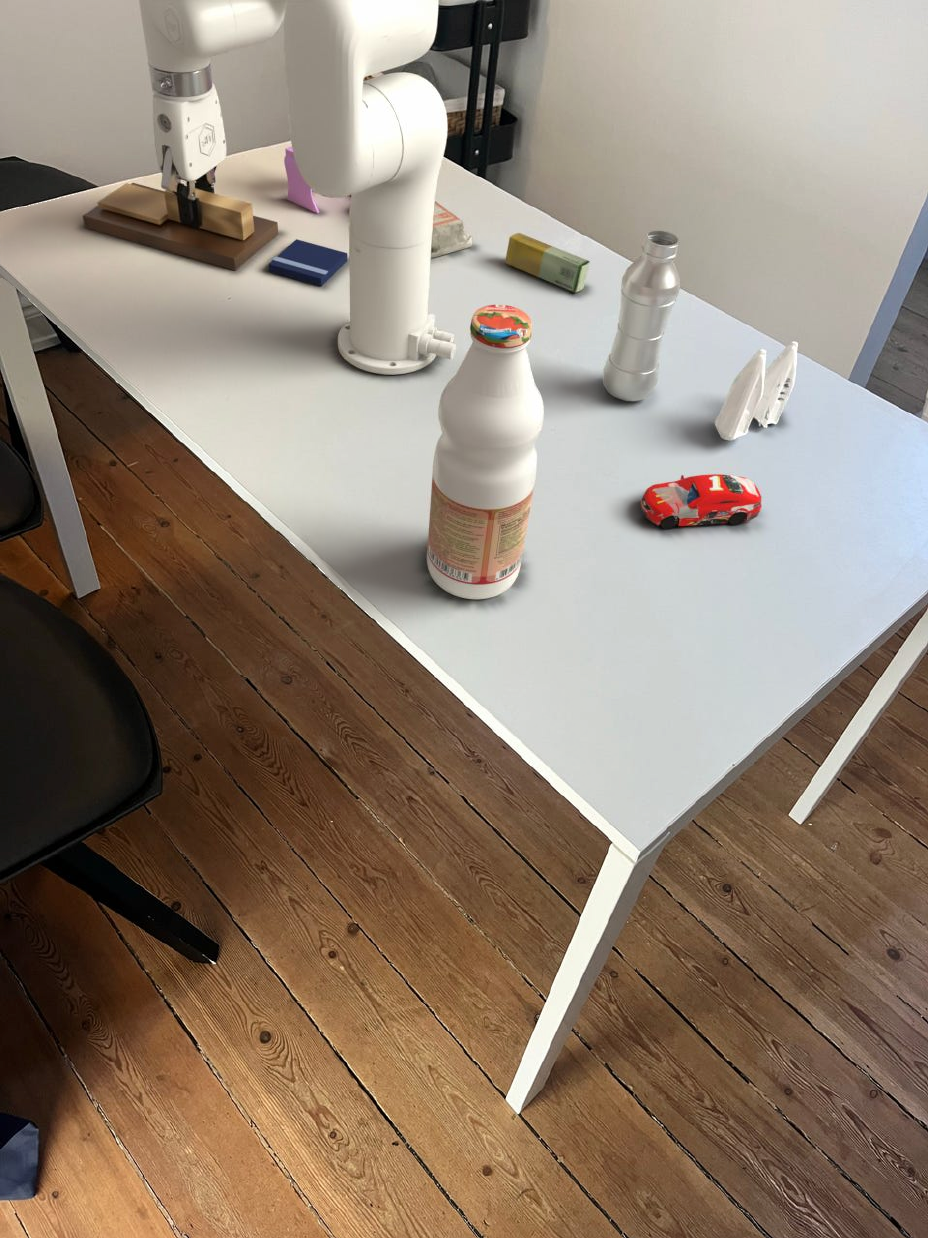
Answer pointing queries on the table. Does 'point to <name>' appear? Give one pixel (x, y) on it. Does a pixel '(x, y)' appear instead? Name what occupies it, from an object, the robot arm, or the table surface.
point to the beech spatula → (159, 207)
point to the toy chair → (298, 184)
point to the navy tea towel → (308, 262)
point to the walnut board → (184, 236)
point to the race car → (702, 501)
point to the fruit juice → (485, 459)
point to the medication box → (547, 262)
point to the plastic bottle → (643, 318)
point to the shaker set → (758, 393)
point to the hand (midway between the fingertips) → (198, 217)
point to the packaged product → (447, 233)
